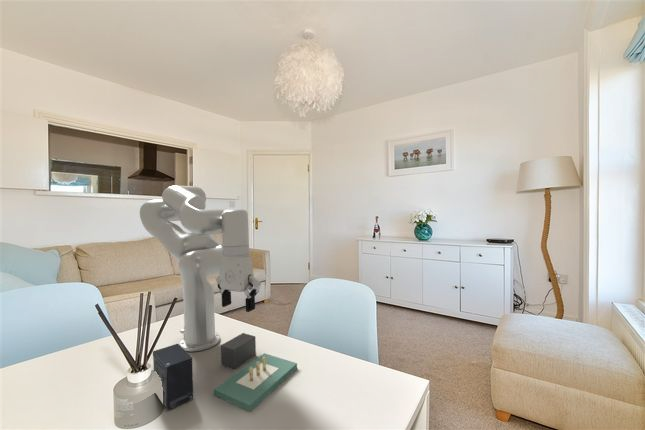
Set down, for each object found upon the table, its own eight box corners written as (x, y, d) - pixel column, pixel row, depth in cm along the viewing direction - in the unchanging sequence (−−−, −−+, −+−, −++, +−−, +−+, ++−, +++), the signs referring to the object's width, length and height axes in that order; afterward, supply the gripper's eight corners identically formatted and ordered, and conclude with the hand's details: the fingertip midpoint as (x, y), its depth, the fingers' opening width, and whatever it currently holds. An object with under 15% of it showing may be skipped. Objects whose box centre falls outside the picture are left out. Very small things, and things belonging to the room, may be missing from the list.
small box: (195, 398, 69) (194, 356, 69) (166, 412, 65) (164, 367, 64) (180, 380, 77) (178, 341, 76) (152, 391, 72) (151, 351, 72)
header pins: (248, 380, 73) (248, 367, 73) (264, 368, 78) (263, 356, 78) (251, 381, 73) (251, 368, 73) (266, 369, 78) (266, 357, 78)
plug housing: (221, 365, 83) (220, 345, 83) (243, 351, 91) (243, 332, 91) (234, 370, 81) (233, 349, 80) (255, 355, 89) (255, 336, 88)
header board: (213, 395, 70) (213, 388, 70) (264, 357, 87) (264, 352, 87) (250, 411, 65) (249, 404, 64) (297, 368, 81) (296, 362, 81)
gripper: (205, 251, 85) (208, 307, 86) (249, 254, 77) (251, 317, 78) (225, 247, 92) (227, 300, 92) (267, 250, 84) (269, 308, 84)
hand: (238, 307), depth 85 cm, fingers open, 9 cm apart
